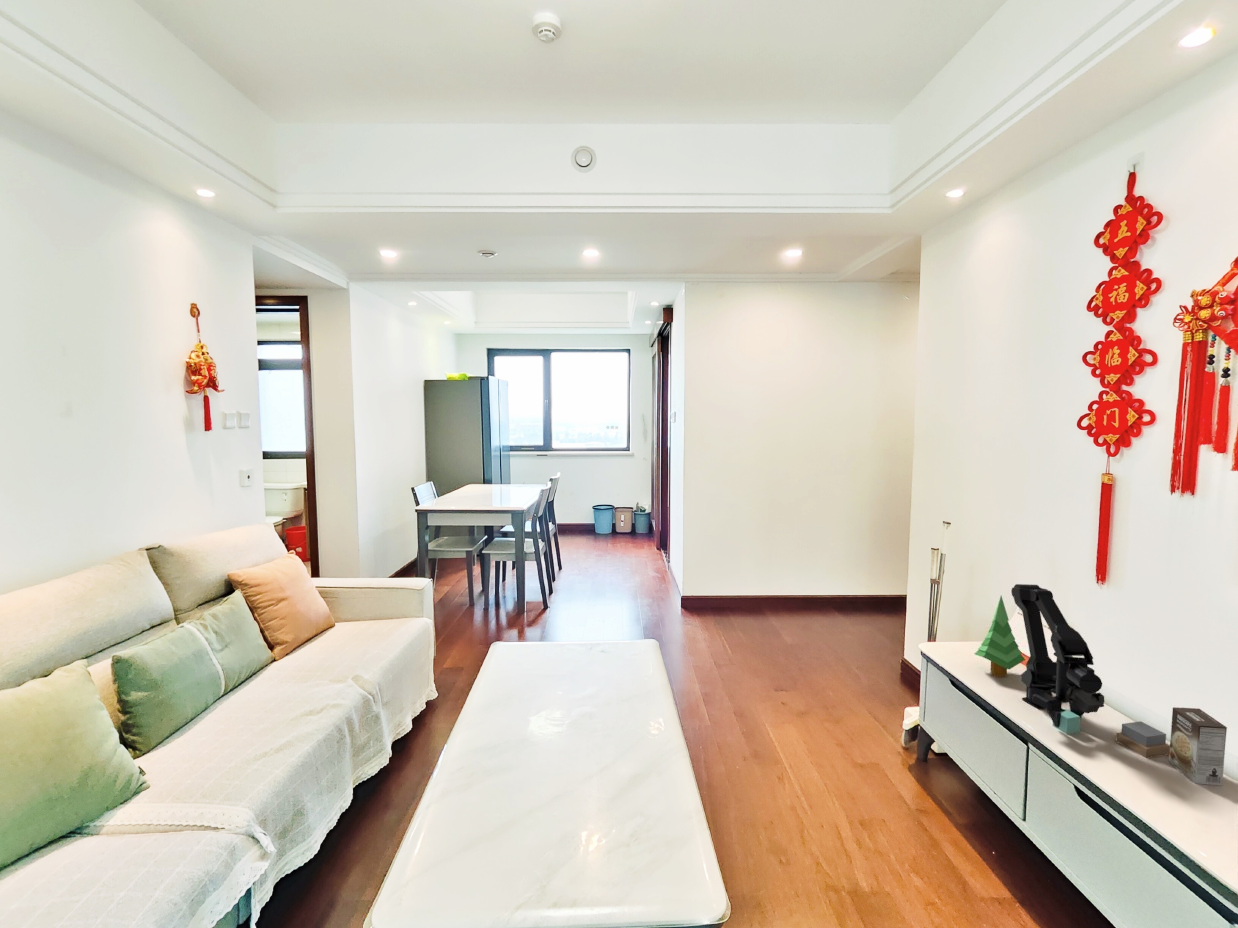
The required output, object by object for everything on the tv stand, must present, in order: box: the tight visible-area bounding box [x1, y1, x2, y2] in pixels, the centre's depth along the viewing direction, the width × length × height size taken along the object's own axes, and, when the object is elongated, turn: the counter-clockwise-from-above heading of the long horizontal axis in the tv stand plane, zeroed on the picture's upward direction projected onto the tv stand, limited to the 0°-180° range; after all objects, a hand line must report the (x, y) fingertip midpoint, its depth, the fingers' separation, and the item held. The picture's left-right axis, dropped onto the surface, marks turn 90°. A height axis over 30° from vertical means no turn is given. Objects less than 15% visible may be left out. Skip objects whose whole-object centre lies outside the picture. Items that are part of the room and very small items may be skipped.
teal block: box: [1052, 708, 1081, 735], centre depth 167 cm, size 4×4×5 cm
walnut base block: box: [1115, 731, 1170, 759], centre depth 157 cm, size 8×8×3 cm
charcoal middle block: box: [1121, 720, 1167, 747], centre depth 157 cm, size 6×6×3 cm
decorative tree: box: [974, 595, 1026, 678], centre depth 201 cm, size 14×16×30 cm
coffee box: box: [1168, 706, 1228, 786], centre depth 145 cm, size 9×6×16 cm
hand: (1066, 725), depth 167 cm, fingers open, 6 cm apart
